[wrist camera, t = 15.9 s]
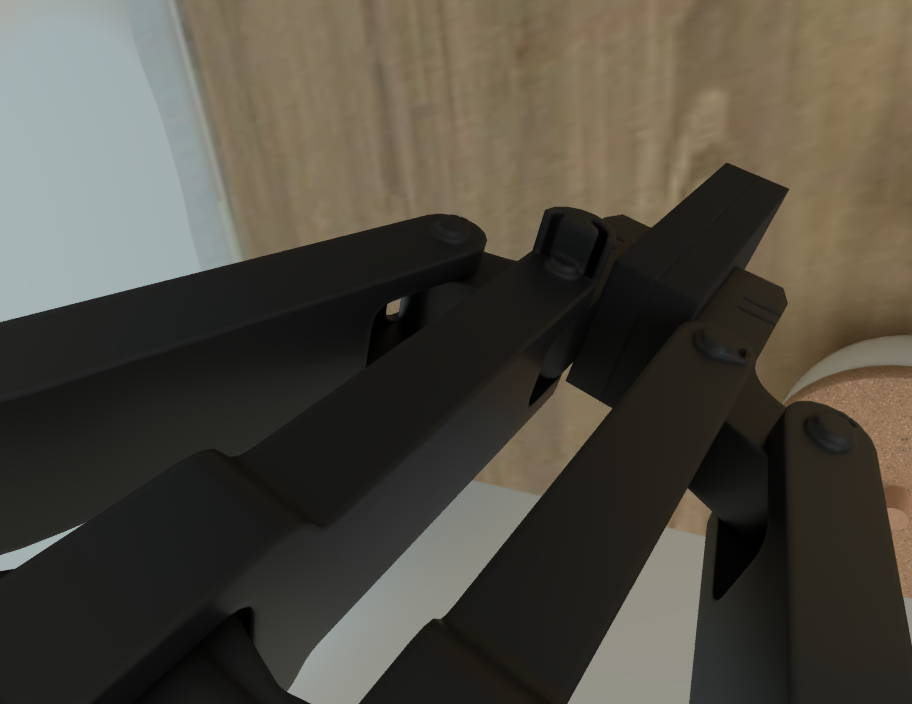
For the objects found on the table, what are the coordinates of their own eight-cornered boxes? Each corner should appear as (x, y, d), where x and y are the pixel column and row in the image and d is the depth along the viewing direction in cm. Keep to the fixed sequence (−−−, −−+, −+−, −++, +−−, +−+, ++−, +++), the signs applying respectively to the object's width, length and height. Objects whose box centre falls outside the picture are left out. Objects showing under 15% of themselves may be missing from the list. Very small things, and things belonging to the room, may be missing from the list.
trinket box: (1109, 335, 27) (1148, 460, 21) (1002, 528, 33) (1006, 676, 26) (820, 275, 33) (778, 360, 26) (769, 451, 38) (723, 558, 31)
